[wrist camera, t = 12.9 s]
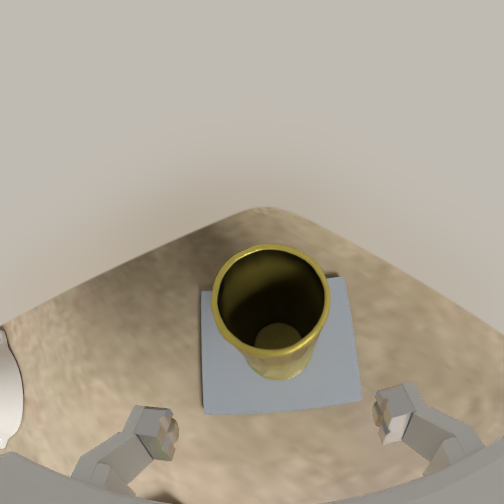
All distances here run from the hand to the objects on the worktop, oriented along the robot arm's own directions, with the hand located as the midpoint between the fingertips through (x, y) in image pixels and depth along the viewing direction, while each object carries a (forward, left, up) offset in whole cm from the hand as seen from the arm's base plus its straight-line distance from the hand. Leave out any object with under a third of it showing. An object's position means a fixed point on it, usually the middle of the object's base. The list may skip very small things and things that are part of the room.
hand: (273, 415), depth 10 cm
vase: (0, +5, -15) cm, 15 cm away
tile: (0, +5, -15) cm, 16 cm away
